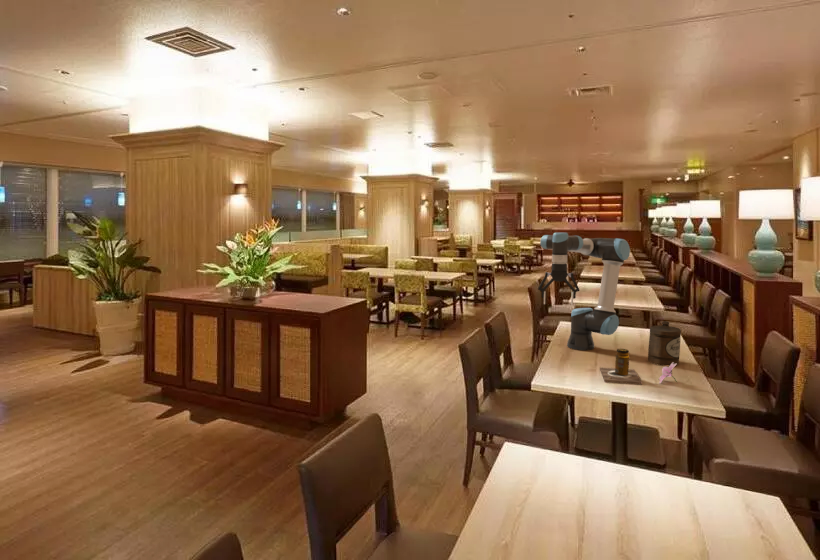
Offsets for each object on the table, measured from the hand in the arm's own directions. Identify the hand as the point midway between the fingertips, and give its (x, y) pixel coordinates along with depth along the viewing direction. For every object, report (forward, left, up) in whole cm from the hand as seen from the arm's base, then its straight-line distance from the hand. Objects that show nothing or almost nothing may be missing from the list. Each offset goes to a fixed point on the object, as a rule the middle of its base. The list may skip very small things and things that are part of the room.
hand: (558, 304), depth 266 cm
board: (+14, +29, -32) cm, 45 cm away
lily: (+17, +49, -32) cm, 61 cm away
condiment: (+15, +29, -30) cm, 45 cm away
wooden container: (-18, +55, -32) cm, 66 cm away
